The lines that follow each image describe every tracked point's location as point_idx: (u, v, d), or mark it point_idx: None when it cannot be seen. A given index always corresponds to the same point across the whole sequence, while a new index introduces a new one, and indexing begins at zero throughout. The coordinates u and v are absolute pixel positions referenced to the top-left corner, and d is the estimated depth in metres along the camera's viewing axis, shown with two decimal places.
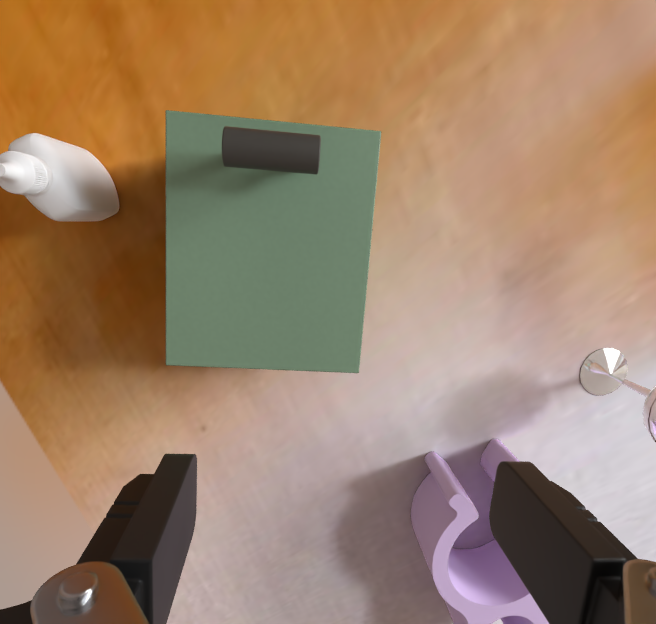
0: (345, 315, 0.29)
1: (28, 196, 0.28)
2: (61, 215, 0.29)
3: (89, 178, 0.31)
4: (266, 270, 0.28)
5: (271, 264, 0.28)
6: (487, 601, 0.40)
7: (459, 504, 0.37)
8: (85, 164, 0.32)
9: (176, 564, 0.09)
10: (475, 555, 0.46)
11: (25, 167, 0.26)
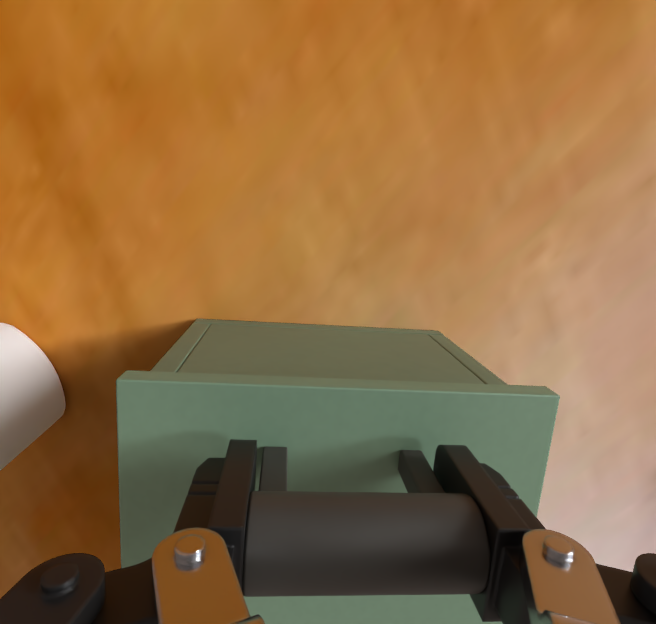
0: None
1: None
2: None
3: None
4: None
5: None
6: None
7: None
8: None
9: None
10: None
11: None
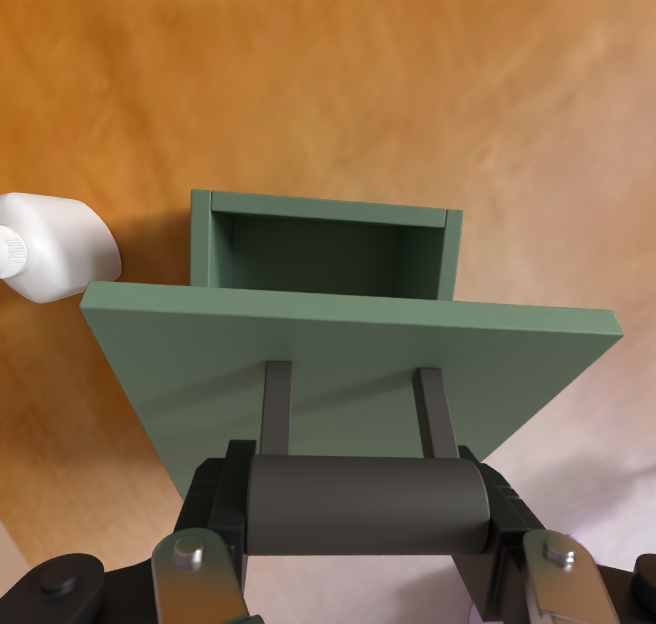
0: None
1: None
2: (46, 298, 0.22)
3: (84, 244, 0.25)
4: None
5: (331, 454, 0.17)
6: None
7: None
8: (79, 225, 0.25)
9: None
10: None
11: None
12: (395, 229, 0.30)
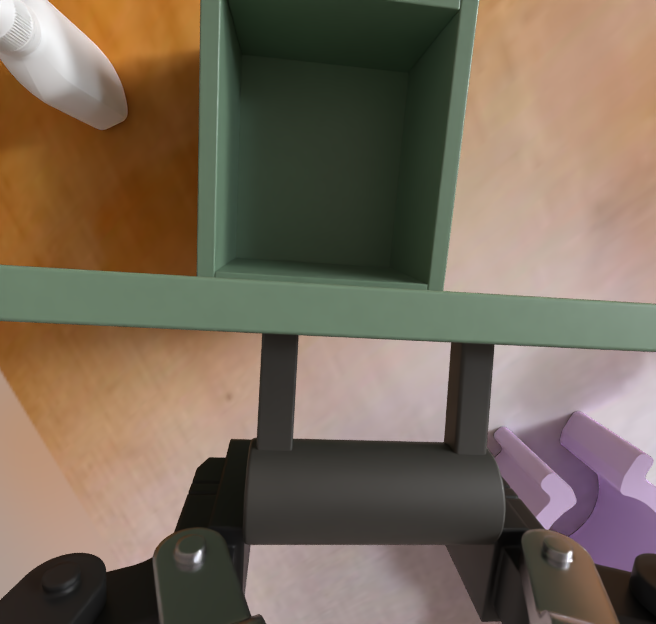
0: None
1: (7, 61, 0.21)
2: (52, 93, 0.22)
3: (90, 56, 0.24)
4: None
5: None
6: None
7: (553, 486, 0.30)
8: (85, 41, 0.25)
9: None
10: None
11: None
12: (405, 74, 0.29)
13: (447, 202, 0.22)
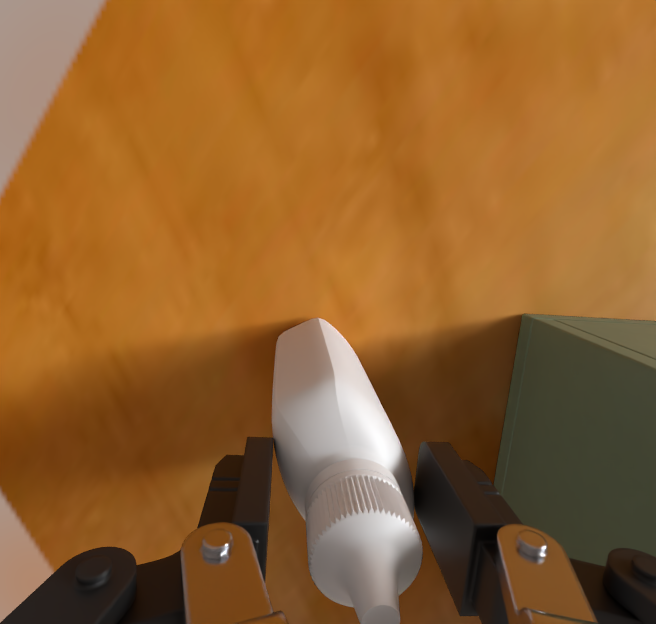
0: None
1: None
2: None
3: None
4: None
5: None
6: None
7: None
8: (371, 386, 0.15)
9: None
10: None
11: (405, 554, 0.09)
12: None
13: None
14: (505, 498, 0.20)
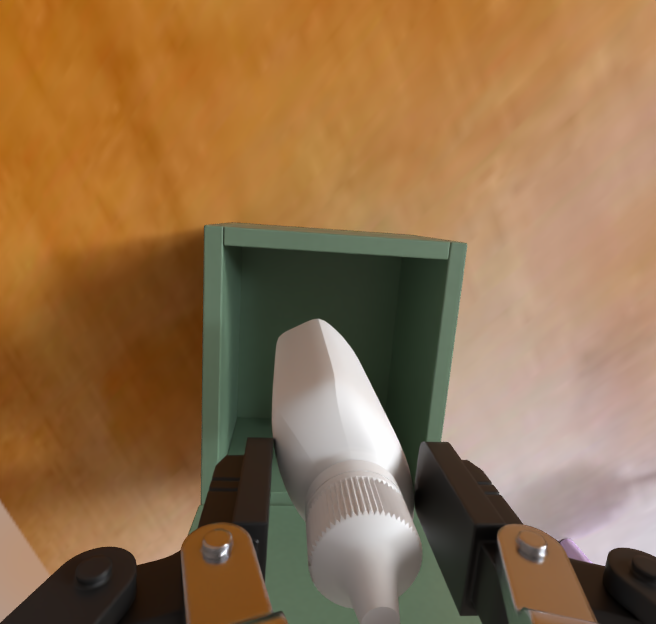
0: None
1: None
2: None
3: None
4: None
5: None
6: None
7: None
8: (371, 386, 0.15)
9: None
10: None
11: (405, 555, 0.09)
12: None
13: (437, 423, 0.24)
14: None
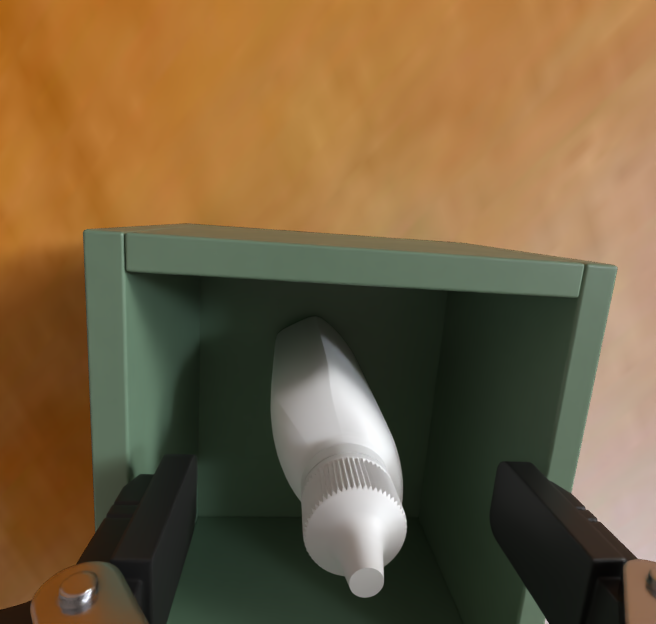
0: None
1: None
2: None
3: None
4: None
5: None
6: None
7: None
8: (365, 379, 0.16)
9: (176, 564, 0.09)
10: None
11: (391, 526, 0.10)
12: None
13: None
14: None
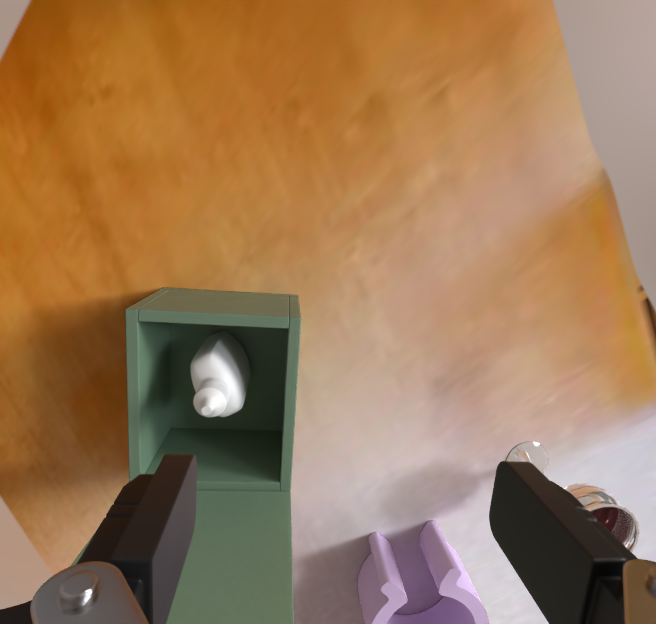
0: None
1: None
2: None
3: (242, 372, 0.38)
4: None
5: None
6: None
7: (390, 590, 0.43)
8: (237, 358, 0.39)
9: (176, 564, 0.09)
10: (415, 621, 0.51)
11: (219, 399, 0.32)
12: None
13: (289, 435, 0.35)
14: None
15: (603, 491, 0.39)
